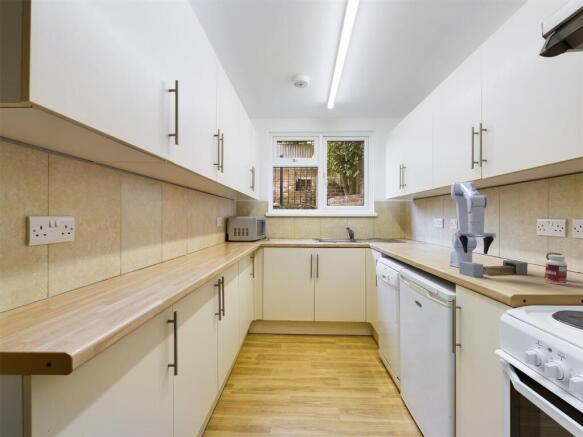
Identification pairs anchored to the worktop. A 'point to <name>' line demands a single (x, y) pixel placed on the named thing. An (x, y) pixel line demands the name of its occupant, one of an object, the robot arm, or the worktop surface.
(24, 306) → the worktop surface
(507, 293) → the worktop surface
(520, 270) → the end cap fixed
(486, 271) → the slat
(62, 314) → the worktop surface
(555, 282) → the pill bottle
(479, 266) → the blue-grey block
